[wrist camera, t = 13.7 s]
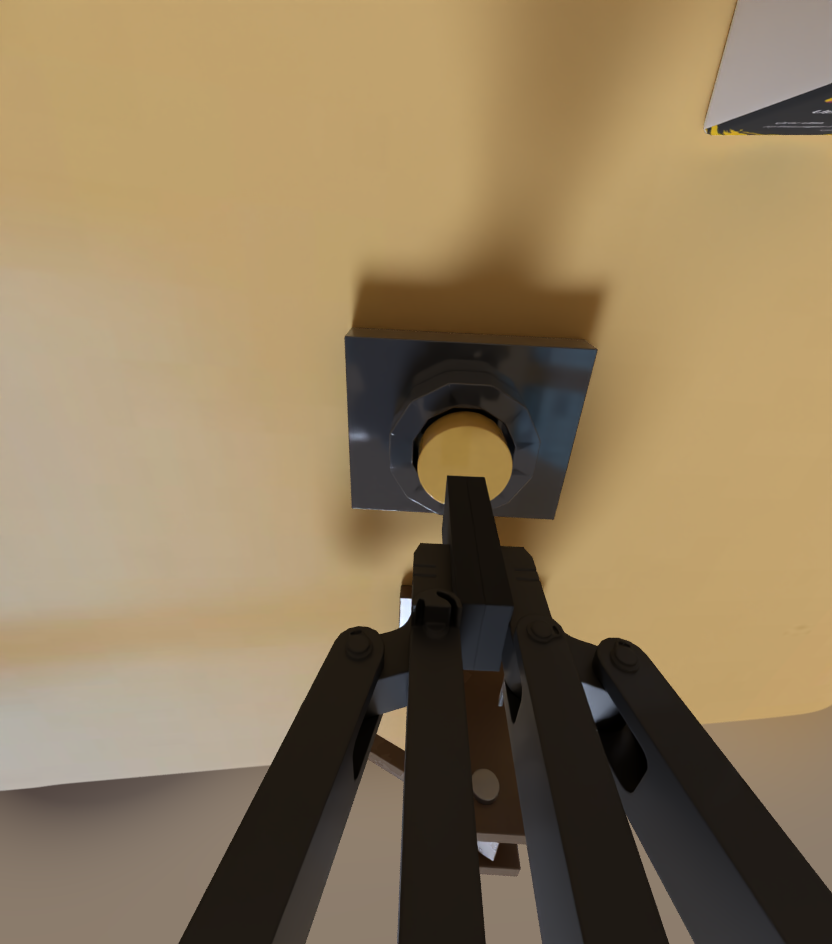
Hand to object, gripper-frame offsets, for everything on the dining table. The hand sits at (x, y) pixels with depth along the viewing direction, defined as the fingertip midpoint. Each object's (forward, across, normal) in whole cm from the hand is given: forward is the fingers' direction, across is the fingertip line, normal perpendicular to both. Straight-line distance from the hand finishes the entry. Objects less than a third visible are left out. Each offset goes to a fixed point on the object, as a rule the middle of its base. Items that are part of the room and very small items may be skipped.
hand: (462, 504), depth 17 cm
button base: (+8, 0, 0) cm, 8 cm away
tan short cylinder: (+5, 0, 0) cm, 5 cm away
